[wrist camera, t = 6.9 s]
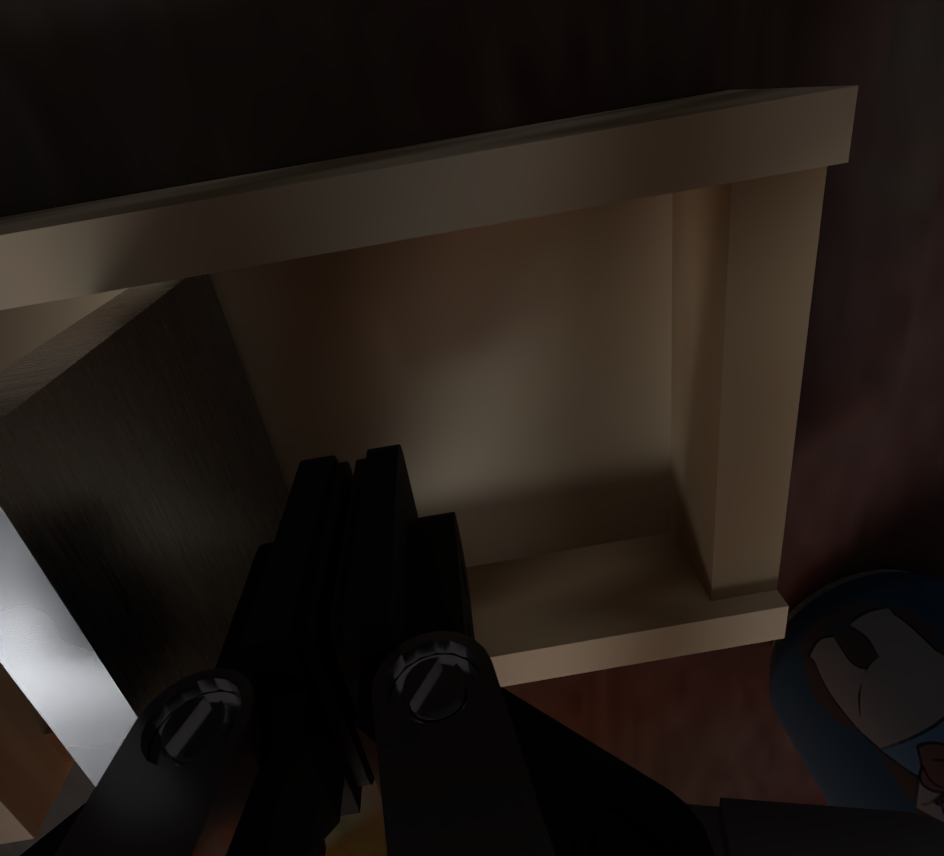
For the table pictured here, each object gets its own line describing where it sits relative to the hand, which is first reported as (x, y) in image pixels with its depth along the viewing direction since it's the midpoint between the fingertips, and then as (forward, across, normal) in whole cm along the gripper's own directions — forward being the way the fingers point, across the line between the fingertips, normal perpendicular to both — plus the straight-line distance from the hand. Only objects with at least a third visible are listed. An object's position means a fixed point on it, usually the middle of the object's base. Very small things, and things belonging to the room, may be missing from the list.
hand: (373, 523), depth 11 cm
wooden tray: (+5, +1, 0) cm, 5 cm away
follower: (+3, +7, 0) cm, 8 cm away
